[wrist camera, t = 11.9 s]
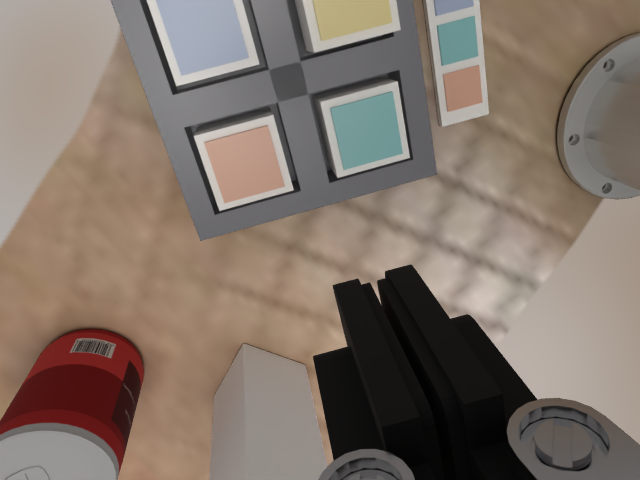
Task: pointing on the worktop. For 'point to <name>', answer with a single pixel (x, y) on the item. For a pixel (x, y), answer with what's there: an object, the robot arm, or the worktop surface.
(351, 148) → the key teal
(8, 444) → the canned food
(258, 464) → the milk
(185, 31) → the key slate
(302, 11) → the key mustard
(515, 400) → the robot arm
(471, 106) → the strip
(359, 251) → the worktop surface
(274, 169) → the key terracotta
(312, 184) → the keypad
